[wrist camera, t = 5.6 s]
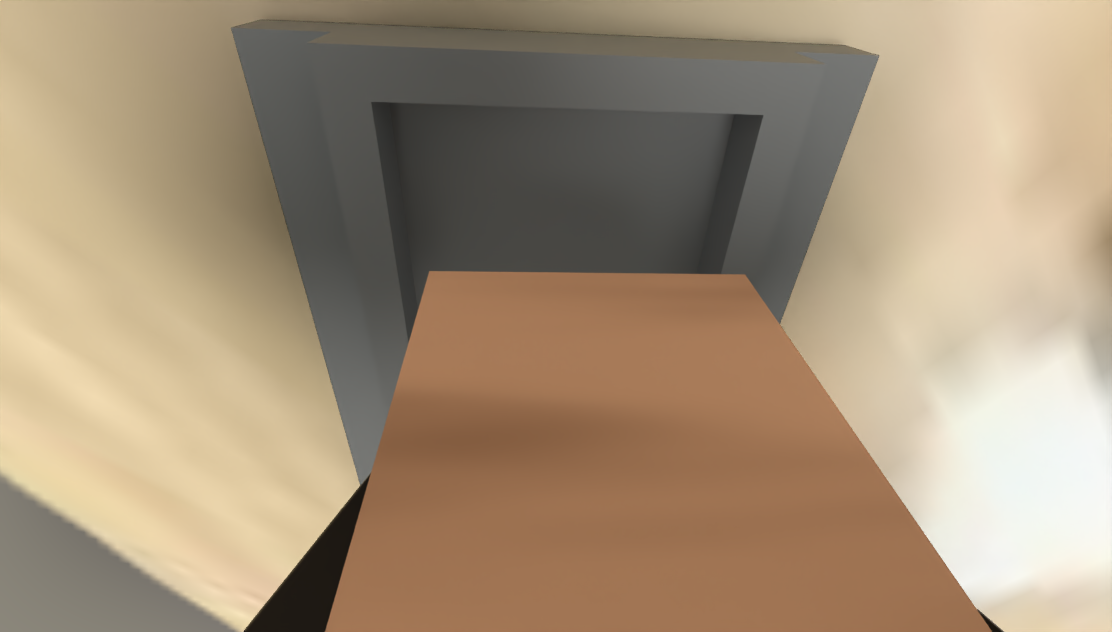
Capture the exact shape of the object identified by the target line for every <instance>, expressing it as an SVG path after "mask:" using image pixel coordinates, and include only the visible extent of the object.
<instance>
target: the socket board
mask: <svg viewBox="0 0 1112 632" xmlns="http://www.w3.org/2000/svg"><path fill="white" fill-rule="evenodd" d="M231 30H232V33H233V37H234V40H235V44H236V47H237V51H238V54H239V58H240V61H241V65H242V69H243V72H244V76H245V79H246V83H247V86H248V90H249V93H250V97H251V100H252V104H253V107H254V111H255V114H256V118H257V122H258V125H259V129H260V132H261V136H262V139H263V143H264V146H265V150H266V153H267V157H268V160H269V164H270V168H271V171H272V175H273V178H274V182H275V185H276V189H277V192H278V196H279V199H280V203H281V206H282V210H283V213H284V217H285V221H286V224H287V228H288V231H289V235H290V238H291V242H292V245H293V249H294V252H295V256H296V259H297V263H298V267H299V270H300V274H301V277H302V281H303V284H304V288H305V291H306V295H307V298H308V302H309V305H310V309H311V312H312V316H313V320H314V323H315V327H316V330H317V334H318V337H319V341H320V344H321V348H322V351H323V355H324V358H325V362H326V365H327V369H328V373H329V376H330V380H331V383H332V387H333V390H334V394H335V397H336V401H337V404H338V408H339V411H340V415H341V419H342V422H343V426H344V429H345V433H346V436H347V440H348V443H349V447H350V450H351V454H352V457H353V461H354V464H355V468H356V472H357V475H358V479H359V482H360V485H361V484H362V483H363V482H364V480H365V479H366V478H367V477H368V476H369V474H370V473H371V471H372V468H373V464H374V461H375V457H376V454H377V450H378V447H379V444H380V440H381V437H382V433H383V430H384V426H385V423H386V419H387V416H388V412H389V409H390V405H391V402H392V399H393V395H394V392H395V388H396V385H397V381H398V378H399V374H400V371H401V367H402V364H403V360H404V357H405V354H406V350H407V347H408V343H409V340H410V336H411V333H412V329H413V326H414V322H415V319H416V316H417V312H418V309H419V305H420V302H421V298H422V295H423V291H424V288H425V284H426V281H427V277H428V274H429V271H470V272H563V273H655V274H745V275H746V277H747V278H748V279H749V281H750V282H751V284H752V285H753V287H754V288H755V290H756V291H757V292H758V294H759V295H760V297H761V298H762V300H763V301H764V303H765V304H766V305H767V307H768V308H769V310H770V311H771V313H772V314H773V316H774V317H775V318H776V320H777V321H778V323H779V324H780V322H781V319H782V317H783V314H784V311H785V309H786V306H787V303H788V300H789V298H790V295H791V292H792V290H793V287H794V284H795V282H796V279H797V276H798V273H799V271H800V268H801V265H802V263H803V260H804V257H805V255H806V252H807V249H808V247H809V244H810V241H811V238H812V236H813V233H814V230H815V228H816V225H817V222H818V220H819V217H820V214H821V211H822V209H823V206H824V203H825V201H826V198H827V195H828V193H829V190H830V187H831V185H832V182H833V179H834V176H835V174H836V171H837V168H838V166H839V163H840V160H841V158H842V155H843V152H844V150H845V147H846V144H847V141H848V139H849V136H850V133H851V131H852V128H853V125H854V123H855V120H856V117H857V114H858V112H859V109H860V106H861V104H862V101H863V98H864V96H865V93H866V90H867V88H868V85H869V82H870V79H871V77H872V74H873V71H874V69H875V66H876V63H877V61H878V58H879V55H876V54H872V53H869V52H866V51H862V50H859V49H856V48H852V47H849V46H845V45H825V44H802V43H780V42H757V41H734V40H712V39H689V38H666V37H644V36H621V35H599V34H576V33H553V32H531V31H508V30H485V29H463V28H440V27H418V26H395V25H372V24H350V23H327V22H305V21H282V20H258V21H254V22H250V23H247V24H243V25H239V26H236V27H232V28H231Z"/></svg>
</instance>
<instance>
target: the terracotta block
mask: <svg viewBox="0 0 1112 632" xmlns="http://www.w3.org/2000/svg"><path fill="white" fill-rule="evenodd" d="M325 632H992V631H991V629H990V628H989V626H988V625H987V624H986V622H985V621H984V619H983V618H982V616H981V615H980V613H979V612H978V611H977V609H976V608H975V606H974V605H973V603H972V602H971V600H970V599H969V597H968V596H967V595H966V593H965V592H964V590H963V589H962V587H961V586H960V584H959V583H958V582H957V580H956V579H955V577H954V576H953V574H952V573H951V571H950V570H949V569H948V567H947V566H946V564H945V563H944V561H943V560H942V558H941V557H940V556H939V554H938V553H937V551H936V550H935V548H934V547H933V545H932V544H931V543H930V541H929V540H928V538H927V537H926V535H925V534H924V532H923V531H922V530H921V528H920V527H919V525H918V524H917V522H916V521H915V519H914V518H913V517H912V515H911V514H910V512H909V511H908V509H907V508H906V506H905V505H904V504H903V502H902V501H901V499H900V498H899V496H898V495H897V493H896V492H895V491H894V489H893V488H892V486H891V485H890V483H889V482H888V480H887V479H886V477H885V476H884V475H883V473H882V472H881V470H880V469H879V467H878V466H877V464H876V463H875V462H874V460H873V459H872V457H871V456H870V454H869V453H868V451H867V450H866V449H865V447H864V446H863V444H862V443H861V441H860V440H859V438H858V437H857V436H856V434H855V433H854V431H853V430H852V428H851V427H850V425H849V424H848V423H847V421H846V420H845V418H844V417H843V415H842V414H841V412H840V411H839V410H838V408H837V407H836V405H835V404H834V402H833V401H832V399H831V398H830V397H829V395H828V394H827V392H826V391H825V389H824V388H823V386H822V385H821V384H820V382H819V381H818V379H817V378H816V376H815V375H814V373H813V372H812V371H811V369H810V368H809V366H808V365H807V363H806V362H805V360H804V359H803V357H802V356H801V355H800V353H799V352H798V350H797V349H796V347H795V346H794V344H793V343H792V342H791V340H790V339H789V337H788V336H787V334H786V333H785V331H784V330H783V329H782V327H781V326H780V324H779V323H778V321H777V320H776V318H775V317H774V316H773V314H772V313H771V311H770V310H769V308H768V307H767V305H766V304H765V303H764V301H763V300H762V298H761V297H760V295H759V294H758V292H757V291H756V290H755V288H754V287H753V285H752V284H751V282H750V281H749V279H748V278H747V277H746V275H745V274H655V273H563V272H470V271H429V274H428V277H427V281H426V284H425V288H424V291H423V295H422V298H421V302H420V305H419V309H418V312H417V316H416V319H415V322H414V326H413V329H412V333H411V336H410V340H409V343H408V347H407V350H406V354H405V357H404V360H403V364H402V367H401V371H400V374H399V378H398V381H397V385H396V388H395V392H394V395H393V399H392V402H391V405H390V409H389V412H388V416H387V419H386V423H385V426H384V430H383V433H382V437H381V440H380V444H379V447H378V450H377V454H376V457H375V461H374V464H373V468H372V471H371V475H370V478H369V482H368V485H367V489H366V492H365V495H364V499H363V502H362V506H361V509H360V513H359V516H358V520H357V523H356V527H355V530H354V533H353V537H352V540H351V544H350V547H349V551H348V554H347V558H346V561H345V565H344V568H343V572H342V575H341V578H340V582H339V585H338V589H337V592H336V596H335V599H334V603H333V606H332V610H331V613H330V617H329V620H328V623H327V627H326V630H325Z"/></svg>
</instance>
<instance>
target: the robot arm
mask: <svg viewBox="0 0 1112 632" xmlns="http://www.w3.org/2000/svg"><path fill="white" fill-rule="evenodd" d="M370 475H371V473H370V474H369V476H368V477H367V478H366V479H365V480H364V482H363V483H362V484H361V485H360V487H359V488H358V489H357V490H356V492H355V493H354V494H353V495H352V497H351V498H350V499H349V500H348V502H347V503H346V504H345V505H344V507H343V508H342V509H341V510H340V512H339V513H338V514H337V515H336V517H335V518H334V519H333V520H332V522H331V523H330V524H329V525H328V527H327V528H326V529H325V530H324V532H323V533H322V534H321V535H320V537H319V538H318V539H317V540H316V542H315V543H314V544H313V545H312V547H311V548H310V549H309V550H308V551H307V553H306V554H305V555H304V556H303V558H302V559H301V560H300V561H299V563H298V564H297V565H296V566H295V568H294V569H293V570H292V571H291V573H290V574H289V575H288V576H287V578H286V579H285V580H284V581H283V583H282V584H281V585H280V586H279V588H278V589H277V590H276V591H275V593H274V594H273V595H272V596H271V598H270V599H269V600H268V601H267V603H266V604H265V605H264V606H263V608H262V609H261V610H260V611H259V613H258V614H257V615H256V616H255V618H254V619H253V620H252V621H251V622H250V624H249V625H248V626H247V627H246V629H245V630H244V632H325V630H326V627H327V623H328V620H329V617H330V613H331V610H332V606H333V603H334V599H335V596H336V592H337V589H338V585H339V582H340V578H341V575H342V572H343V568H344V565H345V561H346V558H347V554H348V551H349V547H350V544H351V540H352V537H353V533H354V530H355V527H356V523H357V520H358V516H359V513H360V509H361V506H362V502H363V499H364V495H365V492H366V489H367V485H368V482H369V478H370ZM977 611H978V612H979V613H980V615H981V616H982V618H983V619H984V621H985V622H986V624H987V625H988V626H989V628H990V629H991V631H992V632H1004V631H1003V630H1001V629H1000V628H999V627H998V626H997V625H996V624H994V623H993V622H992V621H991V620H990V619H989V618H987V617H986V616H985V615H984V614H983V613H982V612H980V611H979V610H978V609H977Z"/></svg>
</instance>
